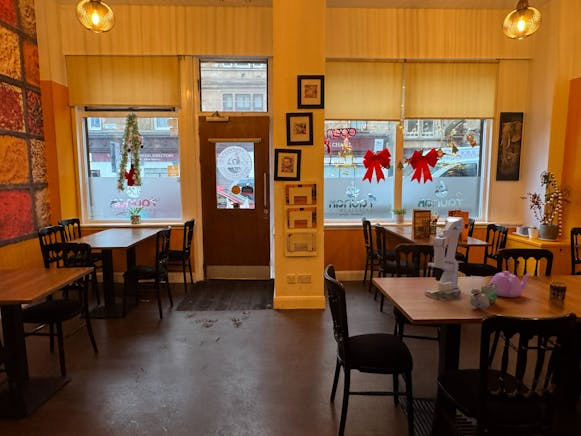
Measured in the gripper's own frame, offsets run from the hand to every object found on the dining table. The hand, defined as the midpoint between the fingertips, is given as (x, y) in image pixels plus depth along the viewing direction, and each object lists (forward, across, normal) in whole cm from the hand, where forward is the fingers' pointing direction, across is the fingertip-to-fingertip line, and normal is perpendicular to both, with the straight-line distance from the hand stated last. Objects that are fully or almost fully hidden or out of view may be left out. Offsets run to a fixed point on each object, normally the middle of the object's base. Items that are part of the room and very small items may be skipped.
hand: (438, 280), depth 224 cm
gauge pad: (+7, +5, -2) cm, 9 cm away
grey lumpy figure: (+8, +30, -3) cm, 31 cm away
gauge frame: (+8, +4, 0) cm, 9 cm away
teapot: (+8, +20, +37) cm, 43 cm away
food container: (+8, +26, +12) cm, 30 cm away
